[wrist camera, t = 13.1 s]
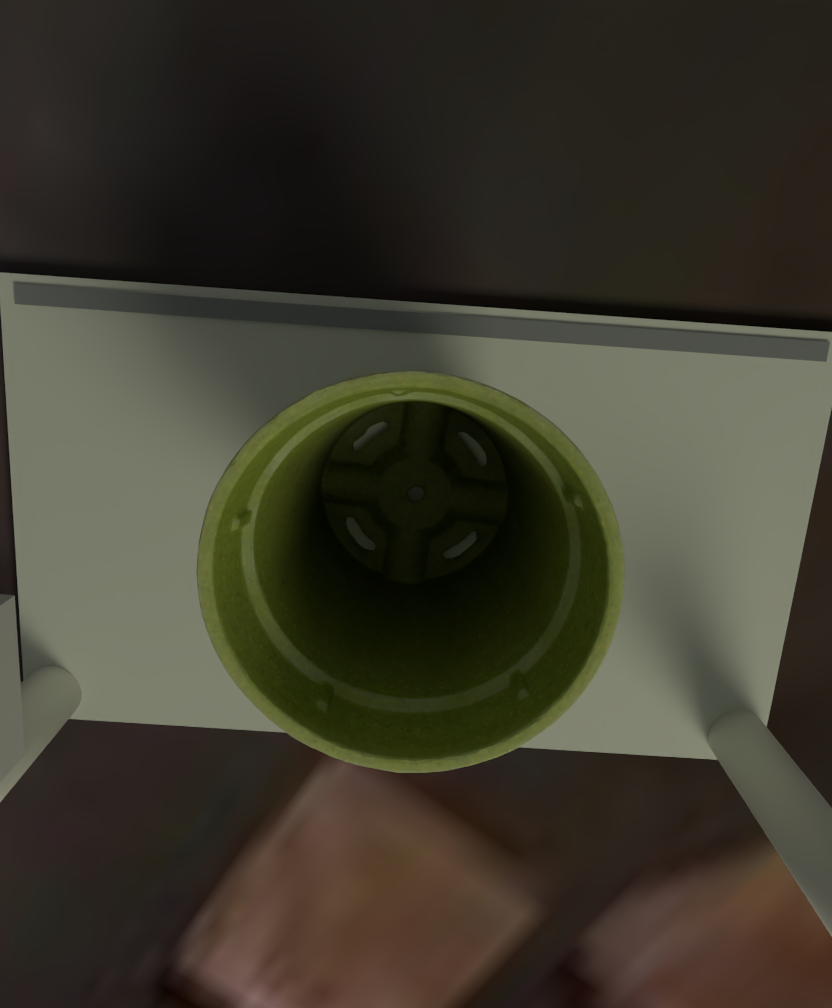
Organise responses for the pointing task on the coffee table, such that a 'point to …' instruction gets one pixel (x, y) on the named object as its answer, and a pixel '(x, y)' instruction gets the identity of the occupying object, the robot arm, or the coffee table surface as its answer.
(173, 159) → the coffee table surface
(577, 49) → the coffee table surface
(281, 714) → the plant pot
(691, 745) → the mat
